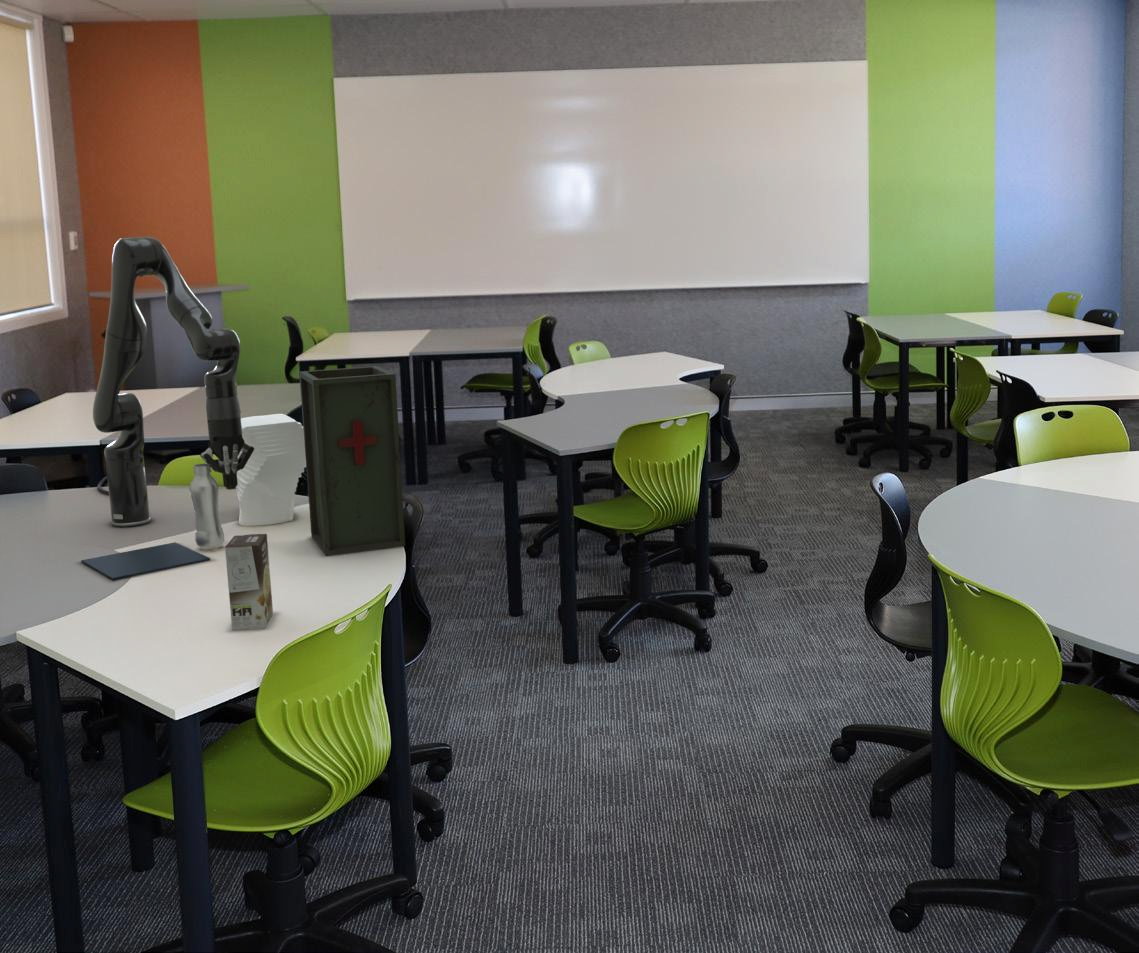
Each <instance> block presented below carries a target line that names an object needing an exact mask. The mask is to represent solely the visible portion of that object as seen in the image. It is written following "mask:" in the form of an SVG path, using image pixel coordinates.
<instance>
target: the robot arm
mask: <svg viewBox="0 0 1139 953" xmlns="http://www.w3.org/2000/svg"><path fill="white" fill-rule="evenodd" d="M151 276H154V277H155V278H156V279H157V280H158V281H159V282H161V284H162V285H163V286H164V290H165V304H166V306H167V307H166V308H167V311H168V312H169V314H170V315H171V317H172V318H173V319H174V320H175V322H176V323H177V324H178V325H179V326H180V328H181V329H183V331H184V333H185V335H186V338H187V340H188V342H189V345H190V347H191V349H192V352H193V353H194V355H195V356H196V357H197V358H198V359H200V360H202V361H203V362H215V361H217V362H216V365H215V368H214V369H212V370H210V371H208V372H207V373H205V375H204V380H203V381H204V390H205V391H204V392H205V409H206V410H205V412H206V421H207V422H206V423H207V432H208V439H209V441H208V444H207V447H208V448H207V449H206V450H205V451H204V452H201V453H200V454H199V456H200V458H201V459H202V460H203V461H204V462H205V463H206V464H210V468H211V470H213V471H214V472H216V473H219V474H222V482H223V486H224V488H226V490H229V491H230V490H236V486H237V484H238V482H237V471H239V470H240V469H243V468H244V467H245V465H246V463H247V461H248V460H249V458H250V456H251V454H252V453H253V451H254V447H252V446H249V445H247V444H245V441H244V439H243V437H242V426H241V418H242V417H241V416H242V415H241V413H242V411H241V407H240V406H241V405H240V402H239V396H238V386H237V372H238V367H239V363H240V362H239V361H240V357H241V356H240V355H241V341H240V338H239V336H238V334H237V332H235V331H234V330H233V329H231V328H227V327H226V328H225V327H224V328H217V329H216V328H215V329H210V328H211V327H212V324H213V317H212V315H211V313H210V312H209V311H208V309H207V308H206V307H205V306H204V305H203V303H202V302H201V301H200V300H199V299H198V298H197V296H196V295H195V294H194V293H193V291H192V290H191V288H190V287H189V286H188V285H187V282H186V281H185V279H184V278H183V276H182V274H181V273H180V271H179V268H178V267H177V266H176V264H175V262H174V260H173V259H172V257H171V256H170V254H169V252H168V251H167V248H166V247H165V246H164V245H163V244H162V242H161V241H160V240H159V239H157V238H156V237H154V236H132V237H123V238H119V239H118V240H117V241H116V243H115V244H114V247H113V250H112V257H111V281H110V282H111V288H110V302H109V310H108V318H107V322H106V324H107V325H106V330H105V336H104V348H103V358H102V364H101V369H100V375H99V380H98V384H97V387H96V391H95V396H94V400H93V406H92V420H93V424H94V426H95V428H96V429H97V430H98V432H100V433H106V434H107V433H110V434H111V433H116V432H120V433H119V435H118V437H117V438H116V439H115V440H114V441H112V442H111V443H110V444H108V445H107V446H105V448H104V451H103V452H104V460H105V461H104V462H105V469H106V476H104V477H103V478H102V479H101V480H100V481H99V483H98V484H97V486H96V487H97V491H99V492H100V493H103V494H106V495H108V498H109V506H110V517H111V521H110V522H111V525H112V526H113V527H119V528H121V527H122V528H127V527H128V528H129V527H136V526H142V525H146V524H147V523H150V521H151V514H150V507H149V506H150V505H149V494H148V486H147V476H146V475H147V474H146V467H145V456H144V447H145V431H144V413H143V407H142V406H143V405H142V403H141V401H140V399H139V397H138V396H137V395H136V394H134V393H131V392H124V393H120V392H121V389H122V386H123V384H124V383H125V380H126V379H127V378H128V376H129V375H130V374H131V373H132V371H133V370H134V369H135V367H136V366H137V365H138V363H139V362H140V361H141V359H142V357H143V355H144V352H145V347H146V341H147V334H148V326H147V322H146V319H145V317H144V316H143V313H142V312H141V310H140V307H139V306H138V304H137V301H136V298H135V286H136V282H137V281H136V280H137V278H142V277H151ZM241 449H242V450H241ZM240 451H242V453H241V455H240V457H239V459H238V455H239V453H240ZM214 456H215V457H216V458H217V460H218V462H217V461H216V460H215V459H214ZM105 481H107V489H108V490H106V489H103V488H102V485H104V483H105Z"/></svg>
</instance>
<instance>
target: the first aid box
mask: <svg viewBox="0 0 1139 953" xmlns="http://www.w3.org/2000/svg"><path fill="white" fill-rule="evenodd" d="M298 373H299V374H298V376H299V386H300V387H299V388H300V401H301V415H302V426H303V429H304V443H305V456H306V467H305V468H306V480H307V494H308V496H307V497H308V508H309V521H310V523H309V524H310V536H311V539H312V540H313V541H314V543H315V544H316V545H317V547H318V548H319V549H320V550H321V552H322V553H323V554H324V556H325V557H329V556H335V555H344V554H353V553H361V552H368V551H377V550H385V549H393V548H400V547H406V533H405V515H404V514H405V513H404V499H403V498H404V497H403V481H402V466H401V448H400V431H399V429H400V428H399V414H398V413H399V412H398V397H397V396H398V395H397V380H396V373H394V372H392V371H389V370H387V369H385V368H382V367H380V366H378V365H376V366H375V365H374V366H361V367H360V366H359V367H345V368H332V369H330V368H329V369H318V370H304V371H299V372H298Z"/></svg>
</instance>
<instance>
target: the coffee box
mask: <svg viewBox="0 0 1139 953" xmlns="http://www.w3.org/2000/svg"><path fill="white" fill-rule="evenodd" d="M268 544H269V543H268V534H267V533H251V534H250V533H249V534H240V535H238V534H237V535H234V536H233V537H232V538H231V539H230V540H229V541H228V542H227V543H226V545H224V551H225V552H224V553H225V562H226V573H227V584H228V585H227V587H228V598H229V605H230V606H229V608H230V609H229V610H230V621H231V630H233V631H238V630H241V631H242V630H257V629H265V628H266V627H267V625H268V624H269V622H270V620H271V618H272V616H273V615H274V607H273V595H272V582H271V571H270V570H271V569H270V557H269V546H268Z"/></svg>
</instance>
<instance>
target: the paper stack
mask: <svg viewBox="0 0 1139 953" xmlns="http://www.w3.org/2000/svg"><path fill="white" fill-rule="evenodd" d="M241 426H242V437H243V439H244V441H245V444H247V445H249V446H252V447H254V451H253V453H252V454H251V456H250V458H249V460H248V461H247V463H246V465H245V467H244V468H243V469H240V470H239V471H237V482H238V484H237V486H236V489H235V491H236V495H237V500H238V507H239V515H238V517H239V518H238V522H239V525H240V526H246V527H251V526H252V527H255V526H269V525H276V524H284V523H286V522H292V521H293V520H294V508H295V501H294V497H295V496H296V495H295V494H296V493H297V488H298V483H299V478H302V473H305V468H306V456H305V443H304V429H303V423H301V422H298V421H296V420H295V418H292V417H291V416H288V415H286V414H285V413H274V414H273V413H272V414H266V415H254V416H247V417H241ZM241 450H242V449H241ZM241 453H242V451H240V453H239V455H238V459H239V457H240V455H241Z"/></svg>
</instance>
